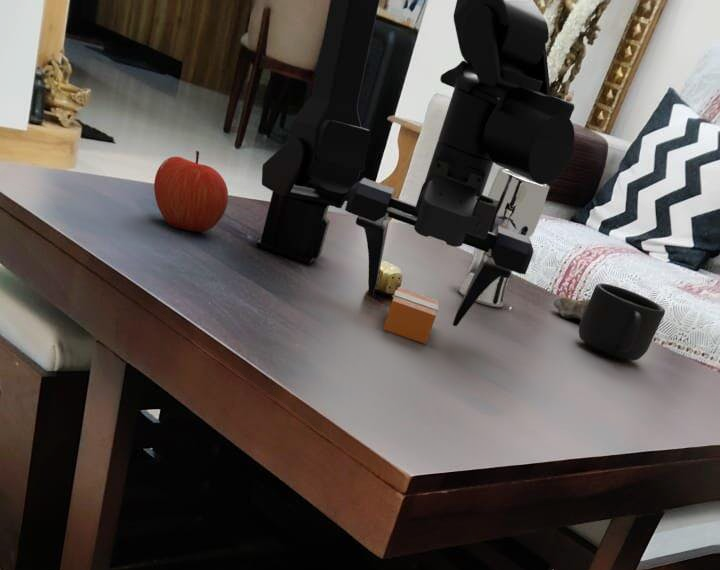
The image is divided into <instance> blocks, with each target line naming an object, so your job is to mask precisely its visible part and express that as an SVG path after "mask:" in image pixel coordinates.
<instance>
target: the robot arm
mask: <svg viewBox="0 0 720 570" xmlns="http://www.w3.org/2000/svg"><path fill="white" fill-rule="evenodd" d="M380 1H381V0H330V1H329V6H328V11H327V17H326V20H325V21H326V22H325V27H324V32H323V37H322V41H321V47H320V52H319V58H318V62H317V69H316V73H315V78H314V84H313V89H312V93H311V96H310V98H309V99H308V100H307V101H306V103H305V104H304V105H303V106H302V108H301V109H300V110H299V111H298V113H297V114H296V115H295V116H294V118H293V119H292V122H291V125H290V128H289V132H288V135H287V139H286V142H285V144H284V145H282V146H281V147H280V148H279V149H278V150H277V151H276V152H275V153H274V154H272V156H270V157H269V158H268V159H267V160H266V161H265V162H264V163H263V164H262V167H261V169H262V170H261V185H262V186H263V187H265V188H266V189H268V190H270V191H271V192H272V193H271V197H270V201H269V205H268V210H267V214H266V217H265V221H264V224H263V225H264V226H263V229H262V234H261V238H259V239H258V240H257V242H256V246H258V247H260V248H263V249H265V250H269V251H271V252H273V253H276V254H279V255H283V256H286V257H288V258H290V259H294V260H296V261H300V262H302V263H305V264H309V265H310V264H312V263H313V262H314V260H316V259H318V258H319V257H320V256H321V254H322V252H323V248H324V244H325V240H326V237H327V234H328V230H329V226H330V223H331V221H330V218H328V217H327V214H328V212H329V207H335V208H336V209H342V208H343V206H344V204H345V202H346V201H347V202H346V205H345V209H344V211H345V212H347V213H349V214H352V215H354V216H357V217H356V220H355V225H357V226H359V227H361V228H363V230H364V232H365V233H364V234H365V239H366V245H367V252H368V296H369V297H373V296H374V293H375V290H376V287H377V284H378V280H379V277H380V276H379V275H380V270H381V266H382V260H383V254H384V249H385V245H386V240H387V234H388V228H389V224H390V220H388V219H389V218H390V219H393V220H396V221H399V222H402V223H404V224H407V225H410V226H413V229H414V231H415V232H416V233H417V234H418V235H420V236H422V237H425V238H428V237H431V238H433V239H437V240H439V241H442V242H445V244H446V245H448V246H450V247H455V248H459V247H462V246H463V245H465V246H468V247H471V248H474V249H475V248H477V249H480V250H483V251H485V252H487V256H486V255H483V258H482V260H481V262H480V264H479V266H478V268H477V270H476V272H475V274H474V276H473V278H472V280H471V282H470V285H469V287H468V289H467V291H466V293H465V295H464V296H463V297H462V299H461V301H460V303H459V306H458V307H457V310H456V313H455V316H454V319H453V322H452V326H454V327H458V325H459V323H460V322H461V321H462V320H463V318H464V317H465V316H466V314H467V313H468V312H469V311H470V309H471V308H472V306H473V305H474V304H475V303H476V302H475V301H476V300H477V298H478V297H479V296H480V295H481V293H482V292H483V291H484V290H485V289H486V288H487V287H488V286H489V285H490V284H491V283H492V282H494V281H495V280H496V279H497V278H498V277H504V278H510V279H511V276H512V274H511V271H513V272H514V273H517V274H520V275H526V274H527V271H528V269H529V266H530V263H531V261H532V257H533V255H534V247H533V243H532V240H531V239H529V237H527V236H525V235H522V234H519V233H516V232H513V231H511V230H508V229H505V228H502V227H500V226H498V227H497V229H496V231H495V234H494V233H491V232H489V229H490V226H491V224H492V221H493V218H494V215H495V212H496V209H497V206H498V202H499V201H498V200H496V199H493V198H490V197H488V195H485V194H484V191H485V188H486V185H487V183H488V179H489V177H490V175H491V171H492V168H493V165H494V164H495V165H496V166H498V167H500V168H503V169H507V170H510V171H512V172H514V173H516V174H518V175H521V176H523V177H525V178H527V179H529V180H531V181H534V182H536V183H538V184H542V185H543V184H547V185H548V184H550V183H553V182H554V181H556V180H557V179H559V178H560V177H561V176H562V174H563V173H565V171H566V169H567V168H568V166H569V164H570V162H571V160H572V158H573V155H574V152H575V148H574V146H575V138H576V137H575V132H576V131H575V127H574V124H573V122H572V120H571V118H572V115H573V112H574V109H575V104H574V103H572V102H570V101H567V100H564V99H561V98H559V97H556V96H554V95H552V93H551V84H550V83H551V82H550V73H549V63H548V55H547V54H548V53H547V45H546V44H547V43H548V42H549V39H550V37H549V36H550V35H549V34H550V33H549V27H548V23H547V20H546V18H545V16H544V15H543V14H542V12H541V10H540V9H539V7H538V6H537V4H536V3H535V1H534V0H456V3H455V7H454V11H453V24H454V29H455V32H456V33H455V34H456V38H457V42H458V48H459V52H460V54H461V57H462V58H463V60H461V61H460V63H458V65H456V66H454V67H453V68H451V69H448V70H447V71H445V72H443V73H442V74H441V76H440V78H439V79H440V80H439V81H440V83H442V84H444V85H447V86H449V87H451V88H454V89H453V92H452V94H451V99H450V101H449V104H448V107H447V111H446V114H445V117H444V120H443V123H442V126H441V130H440V133H439V136H438V138H437V142H436V145H435V148H434V152H433V154H432V158H431V161H430V164H429V167H428V171H427V173H426V176H425V180H424V182H423V183H422V186H421V188H420V192H419V194H418V198H417V201H416V204H412V203H410V202H407V201H406V200H405V201H404V200H401V199H399V198H396V197H394V196H395V193H396V188H395V187H391V186H389V185H385V184H383V183H379V182H377V181H374V180H371V179H369V178H366V177H362V178H361V179H359V178H360V175H361V172H365V170H366V169H365V165H366V164H365V163H366V155H367V151H368V147H369V145H370V142H371V131H370V129H367V128H364V127H362V124H361V119H360V116H359V112H358V103H359V99H360V94H361V90H362V85H363V81H364V76H365V71H366V66H367V62H368V57H369V51H370V47H371V44H372V43H371V42H372V39H373V33H374V28H375V24H376V20H377V14H378V9H379V5H380Z"/></svg>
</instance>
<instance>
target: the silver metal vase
mask: <svg viewBox="0 0 720 570" xmlns="http://www.w3.org/2000/svg"><path fill="white" fill-rule="evenodd" d="M497 171H498V172H497V174H496V176H495V178H494V181H493V183H492V186H491V188H490V190H489V192H488V195H487V197H490V198H493V199H496V200H498V201H499V202H498V206H497V209H496V212H495V215H494V218H493V221H492V224H491V226H490V229H489V232H491V233H494V234H495V231H496V229H497V227H498V226H500V227H502V228H505V229H508V230H511V231H513V232H516V233H519V234H522V235H525V236H527V237H529V239H530V240H531V239H532V237H533V236H534V234H535V232H536V229H537V226H538V224H539V222H540V219H541V215H542V213H543V211H544V206H545V204H546V199H547V196H548V193H549V191H550V188H551V186H549V185H548V184H543V185H542V184H538V183H536V182H534V181H531V180H529V179H527V178H525V177H523V176H521V175H518V174H516V173H514V172H512V171H510V170H507V169H505V168H503V167H500V168H499V169H498V170H497ZM483 255H486V256H487V252H485V251H483V250H480V249H477V248H474V251H473V256H472V258H471V259H472V260H471V262H470V266H469V268H468V270H467V272H466V274H465V276H464V278H463V280H462V281H461V283H460V285H459V287H458V293H459V294H460V295H461V296H463V297H464V295H465V293H466V291H467V289H468V287H469V285H470V282H471V280H472V278H473V276H474V274H475V272H476V270H477V268H478V266H479V264H480V262H481V260H482V258H483ZM513 272H514V271H511V275H512V274H513ZM510 279H511V277H510V278H504V277H498V278H497V279H496V280H495V281H494V282H492V283H491V284H490V285H489V286H488V287H487V288H486V289H485V290H484V291H483V292H482V293H481V295H480V296H479V297H478V298H477V300H476V301H475V302H474V303H478V304H481V305H484V306H486V307H487V306H488V307H492V308H502V307H503V306H504V302H505V299H506V298H505V297H506V293H507V288H508V286H509V285H508V284H509V282H510Z"/></svg>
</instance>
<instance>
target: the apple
mask: <svg viewBox="0 0 720 570" xmlns="http://www.w3.org/2000/svg"><path fill="white" fill-rule="evenodd" d="M199 159H200V151H199V150H196V151H195V161H192V160H188V159H186V158H184V157H181V156H171V157H170V156H169V157H168V158H166V159H165V160H164V161H163V162H162V163H161V164H160V165H159V167H158V169H157V171H156V174H155V177H154V183H153V189H154V198H155V202H156V206H157V208H158V210H159V212H160V214H161V216H162V218H163V219H164V221H166V223H167V224H169V225H170V226H171V227H173V228H177V229H180V230H185V231H190V232H201V233H202V232H206V231H209V230H210V229H212V228H214V227H215V226H216V225H217V224H218V223H219V222H220V220H222V217H223V216H224V214H225V211H226V210H227V206H228V202H229V190H228V186H227V183H226V181H225V180H224V177H223V176H222V175H221V174H220V173H219V171H217V170H216V169H215V168H213V167H211V166H209V165H206V164H202V163H199Z"/></svg>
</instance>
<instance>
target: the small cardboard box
mask: <svg viewBox="0 0 720 570" xmlns="http://www.w3.org/2000/svg"><path fill="white" fill-rule="evenodd" d="M438 310H439V300H436V299H434V298H431V297H428V296H425V295H423V294H419V293H416V292H414V291H412V290H408V289H405V288H403V287H400V286H397V287H396V290H395V291H394V294H393V298H392V301H391V303H390V307H389V310H388V313H387V315H386V319H385V323H384V326H383V330H384V331H386V332H390V333H393V334H395V335H397V336H401V337H403V338H406V339H408V340H412V341H415V342H418V343H421V344H423V345H427V343H428V340H429V338H430V337H429V336H430V334H431V331H432V329H433V325H434V323H435V319H436V318H437V317H436V316H437V312H438Z"/></svg>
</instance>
